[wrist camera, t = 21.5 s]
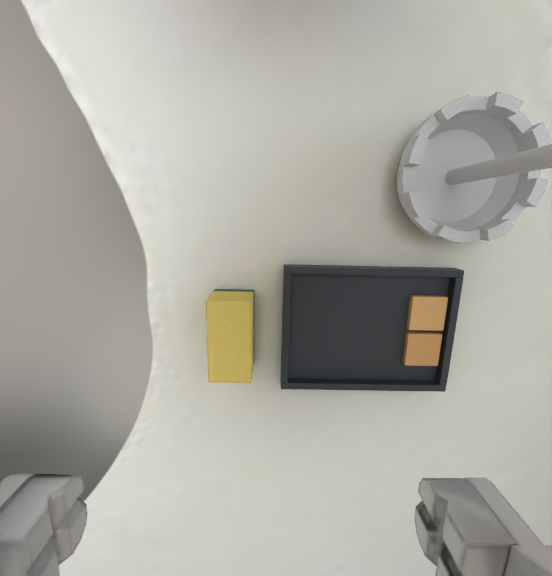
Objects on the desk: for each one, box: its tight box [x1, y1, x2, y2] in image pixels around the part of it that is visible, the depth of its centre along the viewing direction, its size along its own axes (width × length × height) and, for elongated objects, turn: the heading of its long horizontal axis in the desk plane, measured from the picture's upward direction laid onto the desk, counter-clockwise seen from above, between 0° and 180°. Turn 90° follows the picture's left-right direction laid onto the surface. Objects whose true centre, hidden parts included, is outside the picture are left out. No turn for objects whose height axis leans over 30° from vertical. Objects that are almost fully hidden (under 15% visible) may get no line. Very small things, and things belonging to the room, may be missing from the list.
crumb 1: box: [406, 295, 448, 331], centre depth 36 cm, size 4×4×1 cm
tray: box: [281, 265, 464, 391], centre depth 37 cm, size 15×20×2 cm
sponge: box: [206, 289, 254, 383], centre depth 35 cm, size 9×4×5 cm, turn 179°
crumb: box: [402, 332, 442, 366], centre depth 37 cm, size 4×4×1 cm
